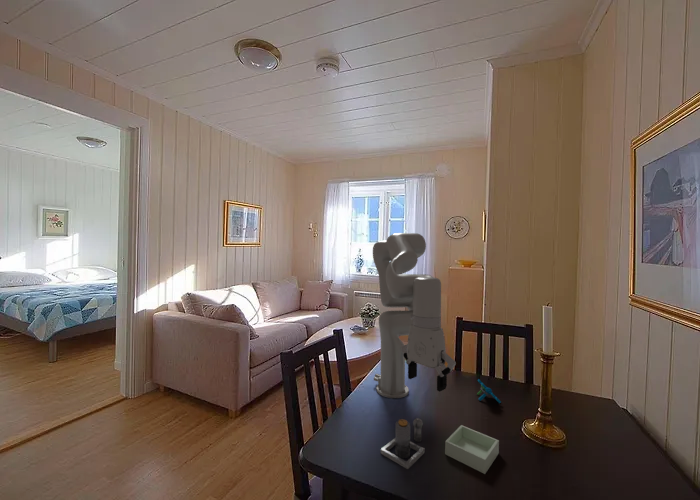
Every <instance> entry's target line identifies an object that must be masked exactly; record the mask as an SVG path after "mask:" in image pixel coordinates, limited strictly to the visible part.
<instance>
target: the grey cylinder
mask: <svg viewBox="0 0 700 500" xmlns="http://www.w3.org/2000/svg"><path fill="white" fill-rule="evenodd" d="M410 441H411V423H410V422H409V421H408V420H406V419H404V418H401V419H398V420H396V422H395V446H394V447H395V455H396V456H398V457H400V458H401V459H407V458H408V459H409V457H410V456H411V448H410Z"/></svg>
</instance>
